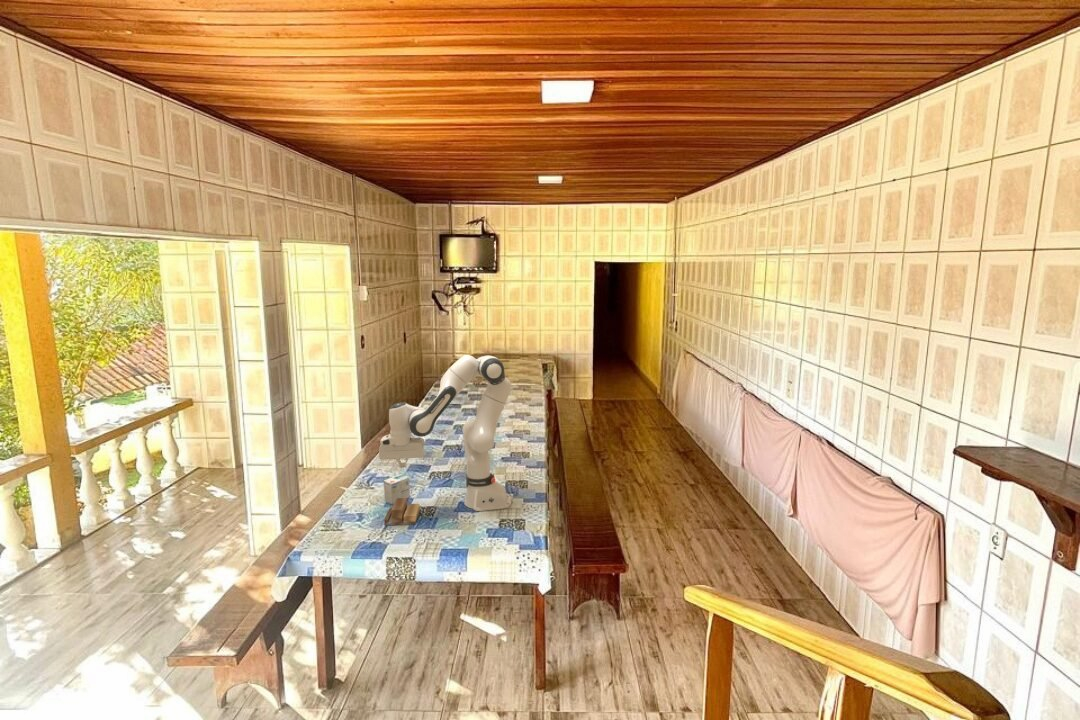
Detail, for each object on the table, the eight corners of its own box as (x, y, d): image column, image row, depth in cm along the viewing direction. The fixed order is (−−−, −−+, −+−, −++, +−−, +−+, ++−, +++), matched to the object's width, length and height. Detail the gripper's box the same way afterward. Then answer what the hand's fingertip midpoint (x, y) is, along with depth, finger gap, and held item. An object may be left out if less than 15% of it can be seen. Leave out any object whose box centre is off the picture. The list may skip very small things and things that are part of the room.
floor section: (419, 511, 257) (419, 503, 256) (415, 524, 244) (414, 516, 244) (390, 511, 256) (390, 503, 256) (384, 525, 244) (383, 517, 243)
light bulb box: (402, 493, 276) (401, 473, 274) (410, 497, 272) (409, 476, 270) (384, 501, 268) (382, 480, 266) (392, 505, 264) (391, 483, 261)
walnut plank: (407, 510, 256) (406, 497, 255) (402, 522, 244) (401, 509, 243) (397, 510, 256) (396, 498, 255) (392, 522, 244) (391, 510, 243)
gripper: (425, 434, 253) (427, 463, 256) (379, 436, 252) (382, 465, 255) (423, 439, 247) (425, 468, 250) (376, 441, 246) (379, 470, 249)
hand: (403, 467), depth 252 cm, fingers closed
